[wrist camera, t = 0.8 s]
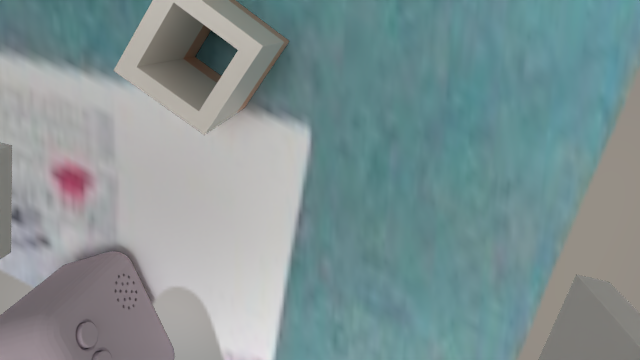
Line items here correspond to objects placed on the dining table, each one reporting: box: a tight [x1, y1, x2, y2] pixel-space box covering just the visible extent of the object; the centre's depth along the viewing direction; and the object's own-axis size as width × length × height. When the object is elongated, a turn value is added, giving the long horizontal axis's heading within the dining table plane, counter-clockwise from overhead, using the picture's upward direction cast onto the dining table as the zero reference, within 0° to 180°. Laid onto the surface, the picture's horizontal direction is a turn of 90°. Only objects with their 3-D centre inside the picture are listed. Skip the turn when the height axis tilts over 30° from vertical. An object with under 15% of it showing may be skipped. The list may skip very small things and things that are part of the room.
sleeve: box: [114, 0, 289, 135], centre depth 25 cm, size 5×5×8 cm
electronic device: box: [0, 251, 174, 360], centre depth 31 cm, size 10×5×10 cm, turn 19°
